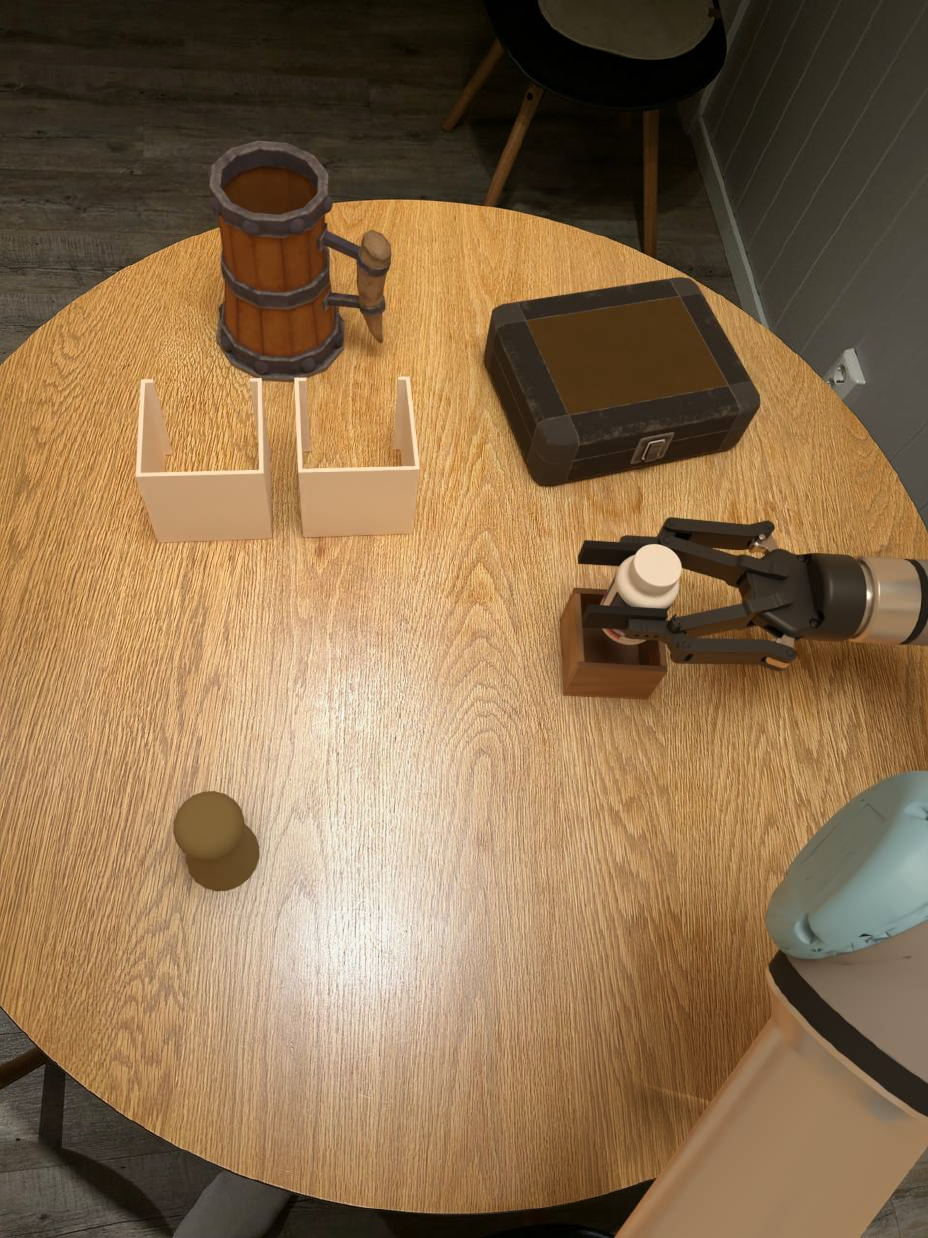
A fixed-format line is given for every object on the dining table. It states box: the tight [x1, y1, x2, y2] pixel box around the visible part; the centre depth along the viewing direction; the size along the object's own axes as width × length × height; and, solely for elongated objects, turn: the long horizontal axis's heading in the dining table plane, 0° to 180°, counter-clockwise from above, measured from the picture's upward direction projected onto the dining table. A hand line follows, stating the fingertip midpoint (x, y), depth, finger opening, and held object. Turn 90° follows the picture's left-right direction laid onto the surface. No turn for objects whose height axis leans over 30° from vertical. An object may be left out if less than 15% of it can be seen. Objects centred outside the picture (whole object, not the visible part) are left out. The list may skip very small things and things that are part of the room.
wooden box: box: [559, 587, 669, 700], centre depth 89 cm, size 8×8×6 cm
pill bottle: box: [600, 544, 683, 645], centre depth 80 cm, size 5×5×10 cm
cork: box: [172, 790, 260, 892], centre depth 74 cm, size 6×6×11 cm
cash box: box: [483, 276, 762, 486], centre depth 103 cm, size 25×20×8 cm
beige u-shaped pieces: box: [135, 376, 421, 544], centre depth 91 cm, size 25×11×11 cm, turn 96°
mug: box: [207, 140, 393, 383], centre depth 97 cm, size 19×14×20 cm
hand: (583, 583), depth 78 cm, fingers closed on pill bottle, 5 cm apart
